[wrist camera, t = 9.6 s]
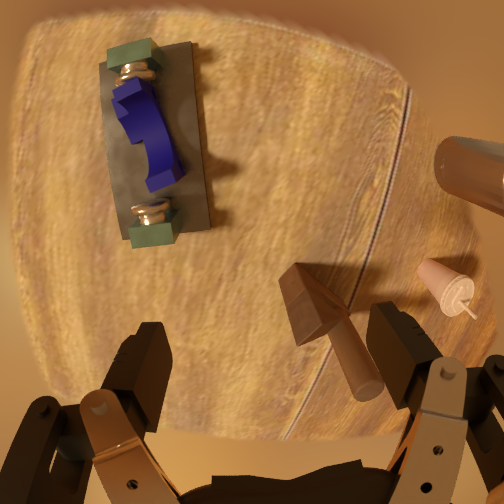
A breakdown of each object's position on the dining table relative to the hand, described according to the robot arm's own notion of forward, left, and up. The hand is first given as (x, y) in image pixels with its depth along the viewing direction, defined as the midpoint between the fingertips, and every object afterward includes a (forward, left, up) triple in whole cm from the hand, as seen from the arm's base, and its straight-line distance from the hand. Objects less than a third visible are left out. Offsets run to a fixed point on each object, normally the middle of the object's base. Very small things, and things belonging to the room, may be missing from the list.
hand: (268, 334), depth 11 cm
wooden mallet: (-8, +15, -27) cm, 32 cm away
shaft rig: (+11, -8, -27) cm, 30 cm away
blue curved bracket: (+10, -9, -27) cm, 30 cm away
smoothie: (-28, +14, -27) cm, 42 cm away
